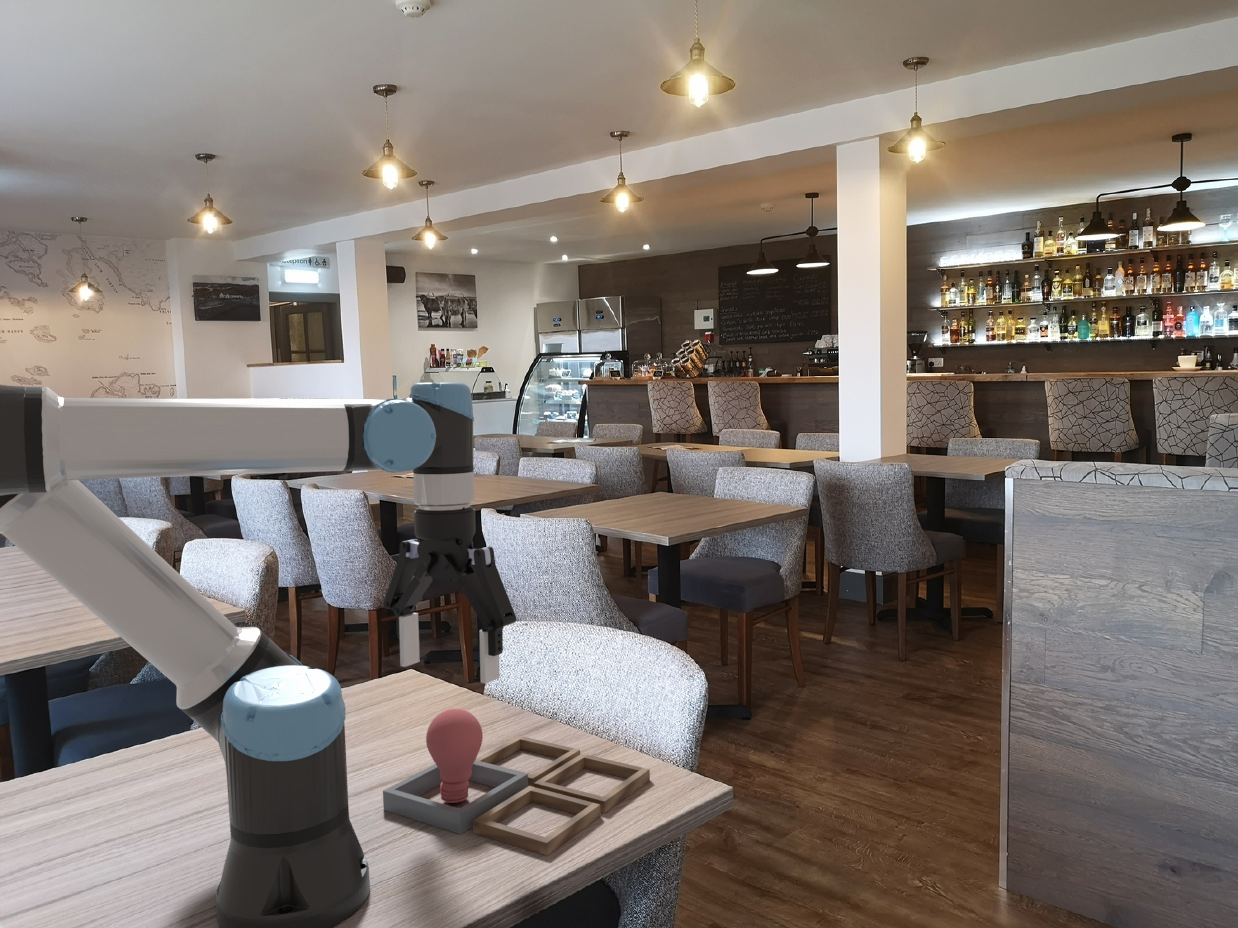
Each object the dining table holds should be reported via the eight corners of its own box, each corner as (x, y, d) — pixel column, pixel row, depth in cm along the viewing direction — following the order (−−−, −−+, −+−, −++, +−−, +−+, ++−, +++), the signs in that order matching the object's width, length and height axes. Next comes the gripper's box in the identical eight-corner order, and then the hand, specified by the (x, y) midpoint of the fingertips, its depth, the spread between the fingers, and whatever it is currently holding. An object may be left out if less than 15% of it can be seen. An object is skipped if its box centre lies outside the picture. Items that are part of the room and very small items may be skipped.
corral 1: (461, 834, 111) (460, 813, 110) (383, 809, 117) (382, 790, 117) (528, 792, 121) (527, 773, 121) (453, 772, 128) (453, 754, 128)
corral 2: (533, 789, 122) (532, 778, 122) (469, 772, 128) (469, 761, 128) (580, 759, 132) (580, 749, 131) (519, 745, 137) (518, 735, 137)
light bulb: (490, 789, 123) (487, 700, 122) (477, 814, 116) (473, 720, 115) (438, 788, 123) (434, 700, 122) (421, 812, 116) (417, 719, 115)
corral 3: (547, 855, 105) (546, 842, 105) (473, 832, 111) (472, 820, 111) (600, 816, 114) (600, 804, 114) (529, 796, 120) (529, 785, 120)
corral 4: (604, 812, 115) (604, 801, 115) (534, 793, 121) (534, 782, 121) (649, 779, 124) (649, 769, 124) (582, 763, 130) (581, 753, 130)
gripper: (542, 508, 113) (545, 679, 114) (395, 497, 126) (399, 650, 128) (503, 515, 106) (506, 696, 108) (352, 503, 120) (357, 664, 121)
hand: (448, 672), depth 118 cm, fingers open, 13 cm apart
